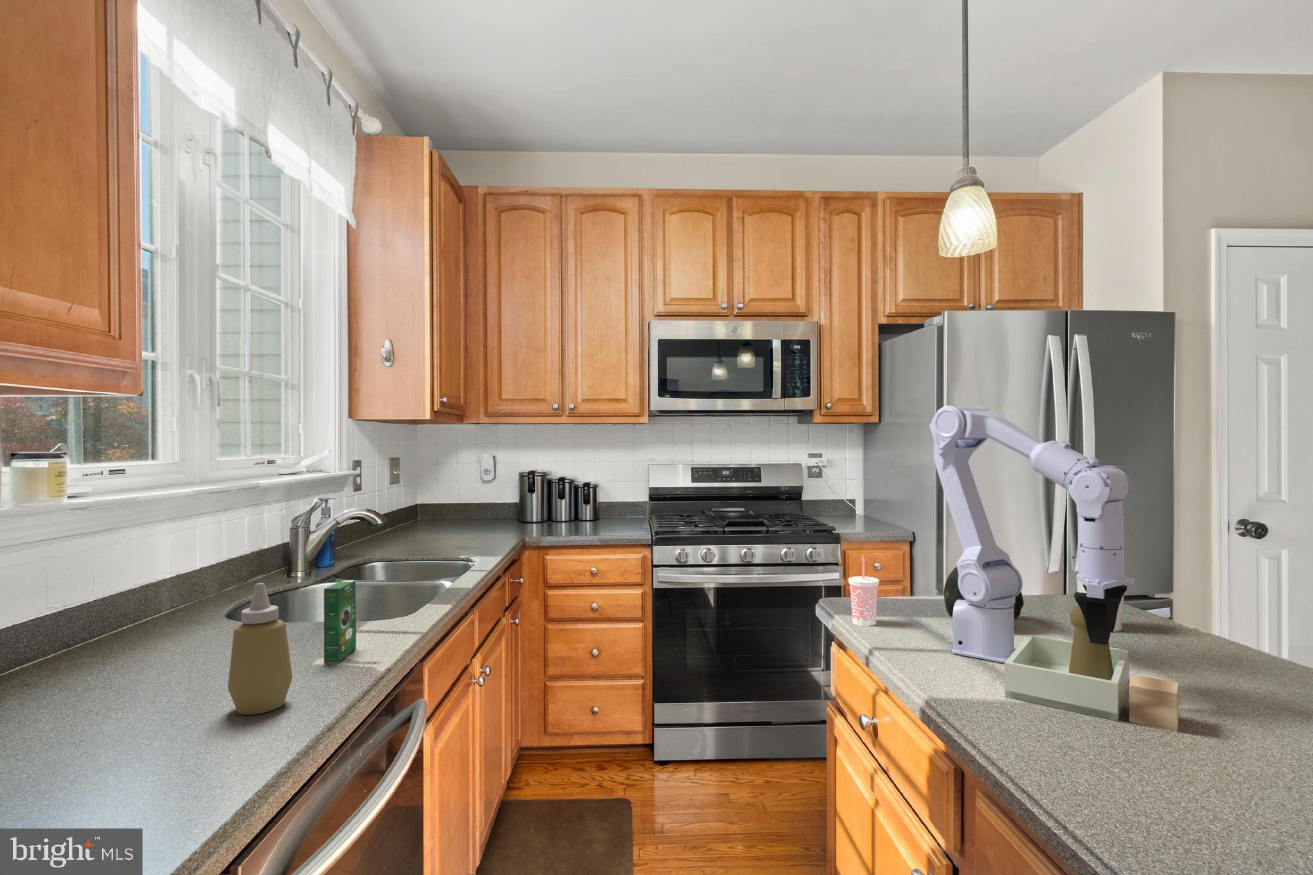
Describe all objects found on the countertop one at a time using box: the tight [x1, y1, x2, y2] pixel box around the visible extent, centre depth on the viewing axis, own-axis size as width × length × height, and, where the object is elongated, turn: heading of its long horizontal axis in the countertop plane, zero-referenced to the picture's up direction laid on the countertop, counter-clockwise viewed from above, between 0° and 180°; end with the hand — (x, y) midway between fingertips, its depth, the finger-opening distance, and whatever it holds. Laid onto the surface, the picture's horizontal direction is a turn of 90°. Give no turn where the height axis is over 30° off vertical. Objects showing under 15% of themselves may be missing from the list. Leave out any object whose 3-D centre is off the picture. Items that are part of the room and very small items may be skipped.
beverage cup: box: [847, 554, 880, 627], centre depth 136 cm, size 6×6×14 cm
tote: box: [1004, 634, 1130, 722], centre depth 99 cm, size 14×18×5 cm
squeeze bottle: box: [227, 582, 293, 715], centre depth 96 cm, size 8×8×18 cm
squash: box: [943, 565, 1025, 621], centre depth 135 cm, size 14×15×15 cm
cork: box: [1069, 605, 1114, 681], centre depth 100 cm, size 6×6×11 cm
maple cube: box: [1128, 674, 1180, 732], centre depth 88 cm, size 5×5×5 cm
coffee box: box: [323, 579, 357, 664], centre depth 119 cm, size 8×3×13 cm, turn 4°
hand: (1102, 637), depth 99 cm, fingers open, 7 cm apart
